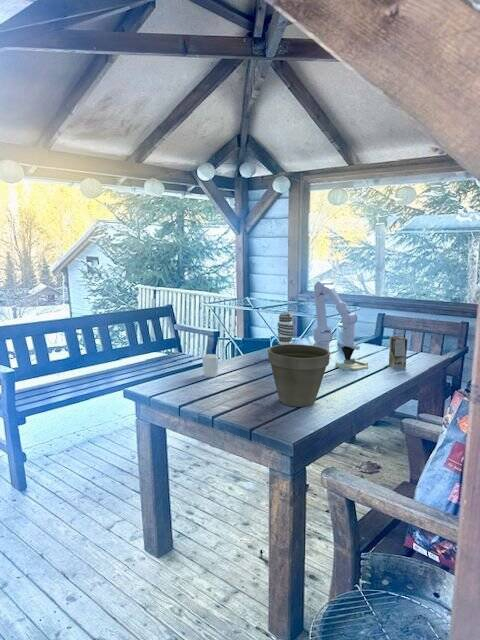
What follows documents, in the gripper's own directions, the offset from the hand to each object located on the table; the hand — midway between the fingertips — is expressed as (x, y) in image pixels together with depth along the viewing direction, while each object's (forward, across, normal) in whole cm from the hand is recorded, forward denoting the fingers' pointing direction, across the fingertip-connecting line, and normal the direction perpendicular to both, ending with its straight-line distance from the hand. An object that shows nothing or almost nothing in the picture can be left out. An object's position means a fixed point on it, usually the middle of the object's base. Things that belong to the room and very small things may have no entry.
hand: (347, 360), depth 244 cm
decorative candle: (+3, -37, -14) cm, 40 cm away
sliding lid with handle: (+2, +5, 0) cm, 6 cm away
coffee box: (+3, +16, +20) cm, 26 cm away
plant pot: (+3, +31, -58) cm, 66 cm away
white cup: (+3, -22, -71) cm, 74 cm away
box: (+3, +3, 0) cm, 4 cm away
